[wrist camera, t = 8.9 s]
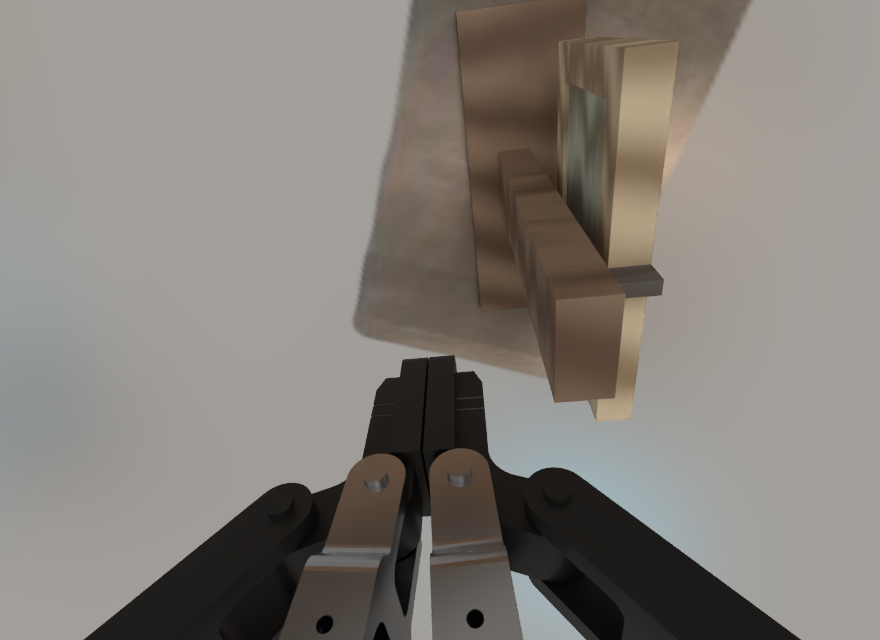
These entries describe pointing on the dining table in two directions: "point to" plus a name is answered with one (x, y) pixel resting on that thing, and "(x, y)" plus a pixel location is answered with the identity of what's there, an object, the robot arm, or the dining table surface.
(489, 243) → the stand
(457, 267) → the dining table surface
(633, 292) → the frame
